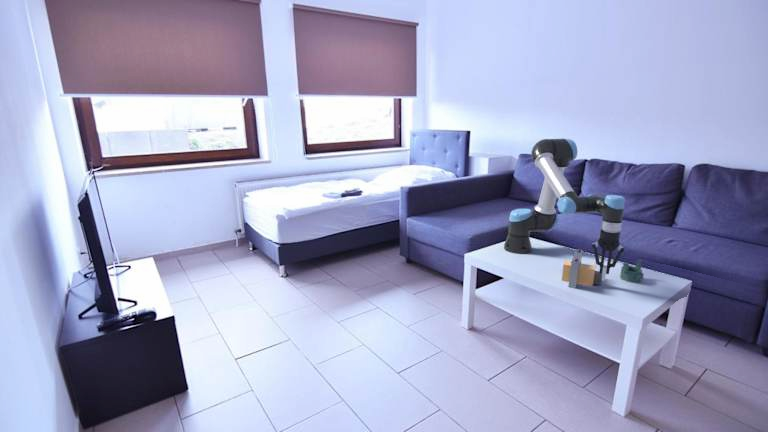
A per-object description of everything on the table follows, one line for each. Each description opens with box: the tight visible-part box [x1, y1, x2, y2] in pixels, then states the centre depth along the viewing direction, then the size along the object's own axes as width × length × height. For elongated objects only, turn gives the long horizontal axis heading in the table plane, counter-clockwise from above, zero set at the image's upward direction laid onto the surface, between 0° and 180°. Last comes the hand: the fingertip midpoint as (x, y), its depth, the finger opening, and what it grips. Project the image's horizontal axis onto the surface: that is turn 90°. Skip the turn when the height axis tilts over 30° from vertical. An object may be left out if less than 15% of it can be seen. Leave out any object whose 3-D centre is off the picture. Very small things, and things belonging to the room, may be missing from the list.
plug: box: [561, 260, 602, 287], centre depth 180 cm, size 6×16×8 cm, turn 59°
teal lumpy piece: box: [619, 259, 644, 284], centre depth 183 cm, size 9×9×9 cm
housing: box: [568, 248, 584, 289], centre depth 181 cm, size 18×3×13 cm, turn 149°
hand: (603, 279), depth 176 cm, fingers closed
